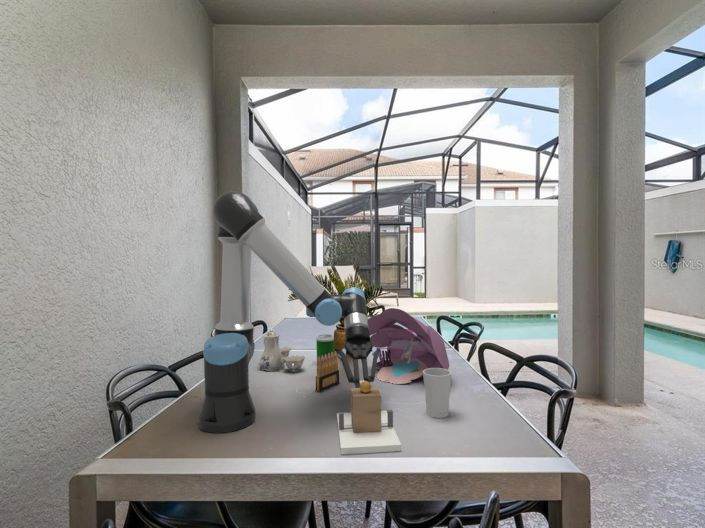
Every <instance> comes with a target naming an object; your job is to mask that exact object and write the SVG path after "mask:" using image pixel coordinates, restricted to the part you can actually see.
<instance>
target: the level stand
mask: <svg viewBox="0 0 705 528" xmlns="http://www.w3.org/2000/svg"><path fill="white" fill-rule="evenodd" d="M336 420H337V421H336V422H337V429H338V440H339V447H340V455H356V454H357V455H359V454H373V453H390V452H392V453H394V452H402V443H401V441H400V438H399V437H398V434H397V432H396V429H395V428H394V411H393V409H387V410H381V431H371V432H353V428H352V423H351V412H344V411H342V412H341V411H339V412H337V413H336Z"/></svg>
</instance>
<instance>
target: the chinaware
mask: <svg viewBox="0 0 705 528" xmlns="http://www.w3.org/2000/svg"><path fill="white" fill-rule="evenodd" d="M279 339H280V334H277V333H276V332H275V331H274V330H273V328H270V330H269V331H268V332H267V334H264V335H263V346H264V349H263V353H262V354H261V356H260V358H259V360H258V365H259V366H260V367H261V370H262V371H264V370H266V371H265V372H275V371H274V370H276V371H280V370H281V368H282V367H283V366H284V364H285V366H286V368H287V369H288V370H289V371H290V372H291V373H297V371H298V372H299V369H301V368H302V366H303V364H304V362H305V355H301V356H299V355H298V354H297V355H296V354H294V355H292V356H289V355H290V352H291V351H292V348H291V347H290V348H289V347H288V346H283V347H280V344H279ZM279 369H280V370H279ZM282 369H283V368H282Z"/></svg>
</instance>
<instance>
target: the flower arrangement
mask: <svg viewBox="0 0 705 528" xmlns="http://www.w3.org/2000/svg"><path fill="white" fill-rule="evenodd" d="M368 325H369V333H370V341H371V344H372V345H373V347H374V348H376V349H377V348H380V349H381V348H383V350H382V349H381V351H380V355H379V357H378V358H379V361H377V365H376V370H377V369H378V370H379V371H378V373H377V375H376V377H377V379H378V380H379V381H380V380H381V381H380V382H382V383H383V382H385V381H388V382H390V383H389V384H392V383H393V385H394V384H395V385H398V384H399V385H402V384H408V383H411V382H413V381H412V380H416V379H419V378H421V377H423V370H425V369H428V368H442V369H447V370H449V369H450V361H449V357H448V352H447V348H446V345H445V342H444V341H445V340H444V338H443V336H442V335H441V334H439V332H438V331H437V330H436V329H435V328H433V327H432V326H431V325H426V324H425V323H423V321H420V320H418V319H417V318H415V317H414V316H412V315H410V314H409V313H408V312H406V311H404V310H402V309H400V308H394V307H391V308H386V309H384V310H383V311H382V312H380V313H379V314H375V315H372V316H371V317H369V318H368ZM384 348H386V350H384ZM385 383H386V382H385Z"/></svg>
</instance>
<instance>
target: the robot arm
mask: <svg viewBox="0 0 705 528" xmlns="http://www.w3.org/2000/svg"><path fill="white" fill-rule="evenodd" d="M212 210H213V212H212V213H213V217H214V219H215V221H216V223H217V225H218V226H217V239H218V240H219V241H220V242H221V244H222V259H221V260H222V261H221V269H222V270H221V289H220V290H221V292H220V295H221V297H220V316H219V317H220V319H219V320H220V321H219V322H218V323H217V324H216V325H215V326H214V335H213V336H211V337H209V338H207V339H206V341H205V342H204V344H203V345H204V346H203V351H202V352H203V364H204V366H203V368H204V369H203V371H204V376H203V377H204V398H203V401H202V404H201V409H200V411H199V415H198V427H199V429H201V430H202V431H204V432H207V433H215V434H216V433H219V434H220V433H229V432H230V433H231V432H234V431H238V430H241V429H244V428H246V427H248V426H250V425H252V424H253V423H254V422H255V420H256V419H257V415H256V414H257V413H256V411H257V410H256V407H255V404H254V402H253V398H252V395H251V392H250V387H249V383H250V379H249V364H250V362H251V360H252V358H253V356H254V353H255V346H256V345H255V341H254V331H255V330H254V329H255V328H254V325H253V324H252V322H251V321H250V305H251V304H250V299H251V298H250V297H251V272H252V271H251V269H252V268H251V267H252V252H253V253H254V254H255V255H256V256H257V257H258V258H259V259H260V261H262V262H263V263H264V265H266V266H267V268H268V269H270V270H271V272H272V273H273V274H274V275H275V276H276V277H277V278H278V280H279V281H281V282H282V283H283V284H284V285H285V287H287V288H288V290H290V291H291V293H292V294H293V295H294V296H295V297H296V299H298V300H299V301H300V303H302V304H303V305H304V306H305V314H306V316H307V317H311V318H312V317H313V318H316V321H317V322H319V323H320V325H324V326H326V327H327V326H334V325H336V324H338V323H339V321H340V320H341V319H342V318H343V322H344V325H343V326H344V337H345V344H344V348H342V349H341V348H340V349H338V350H337V358H339V360H340V361H341V364H342V366H343V370H344V372H345V374H346V378H347V381H348V383H352V384H354V388H360V384H361V382H363V381H368V382H369V383H370V384H371V383H374V381H375V377H376V371H377V367H376V365H377V362H378V358H379V355H380V351H381V352H382V349H381V348H376V347H373V345H372V344H371V341H370V337H371V335H370V333H369V325H368V319H369V318H368V312H367V301H366V297H365V292H364V291H363V290H362V288H359V287H355V286H352V287H350V288H346V289H344V290H343V292H342V293H340V294H339V293H338V294H336V293H335V294H334V293H329V291H328V290H326V288H325V287H324V286H323V285H322V283H320V282H319V281H318V280H317V279H316V277H315V276H314V275H312V273H311V272H310V271H309V270H308V269H307V268H306V267H305V266H304V265H303V264H302V262H301V261H299V259H298V258H297V257H296V256H295V255H294V254H293V253H292V252H291V251H290V250H289V248H287V246H286V245H284V244H283V242H282V241H281V240H280V239H279V238H278V237H277V236H276V234H275V233H273V232H272V230H271V229H270V228H269V227H268V226H267V225H266V219H265V218H264V217H263V216H262V215H261V213H260V212H259V210H258V207H257V205H256V204H255V203H254V202H253V201H252V199H251V198H250V197H249V196H248V195H246V194H245V193H243V192H240V191H237V190H229V191H226V192H224V193H222V194H221V195H219V196H218V197H217V199H215V202H214V203H213V209H212ZM371 352H372V353H371ZM370 354H372V363H371V370H370V371H371V372H370V375H369V367H368V357H369V355H370ZM347 355H348V356H349V357H350V358H351V359H352V363H353V364H352V365H353V372H352V370H351V366H350V364H349V360H348V357H347ZM359 360H361V361H360V362H361V367H362V369H361V370H362V377H363V380H360V379H361V377H360V368H359Z"/></svg>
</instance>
